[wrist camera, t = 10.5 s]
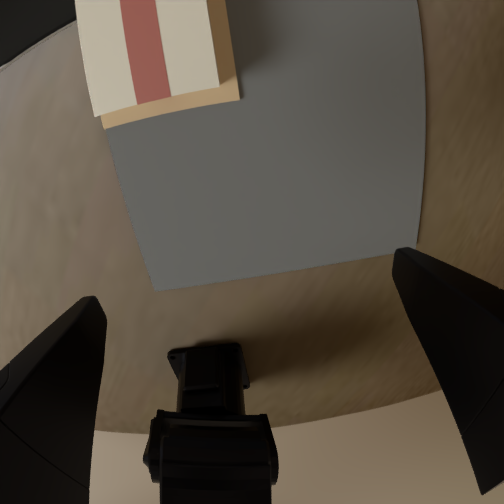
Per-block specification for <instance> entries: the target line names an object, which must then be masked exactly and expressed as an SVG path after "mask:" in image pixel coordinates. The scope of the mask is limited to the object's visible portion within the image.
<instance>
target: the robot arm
mask: <svg viewBox="0 0 504 504" xmlns="http://www.w3.org/2000/svg"><path fill="white" fill-rule="evenodd" d="M392 277H393V280H394V283H395V285H396V288H397V290H398V293H399V295H400V298H401V300H402V303H403V305H404V308H405V311H406V313H407V316H408V318H409V320H410V322H411V324H412V326H413V328H414V330H415V332H416V334H417V336H418V338H419V340H420V342H421V345H422V347H423V349H424V351H425V353H426V355H427V357H428V359H429V361H430V363H431V366H432V368H433V370H434V372H435V374H436V377H437V379H438V381H439V383H440V386H441V388H442V390H443V392H444V394H445V397H446V399H447V402H448V404H449V406H450V409H451V411H452V414H453V416H454V419H455V421H456V424H457V426H458V429H459V431H460V434H461V435H462V436H461V437H462V440H463V443H464V446H465V448H466V451H467V454H468V456H469V459H470V462H471V465H472V468H473V471H474V474H475V477H476V480H477V483H478V486H479V490H480V493H481V495H484V494H486V493H487V492H489V491H491V490H492V489H494V488H496V487H497V486H499V485H500V484H502V483H503V482H504V290H503V289H499V288H498V287H496V286H494V285H492V284H490V283H488V282H486V281H484V280H482V279H480V278H477V277H475V276H473V275H471V274H469V273H467V272H465V271H462V270H460V269H458V268H456V267H454V266H451V265H449V264H447V263H445V262H443V261H440V260H438V259H436V258H434V257H431V256H429V255H427V254H424V253H422V252H420V251H417V250H415V249H413V248H410V247H402V248H397V249H396V250H395V253H394V260H393V268H392ZM106 330H107V318H106V315H105V313H104V311H103V309H102V307H101V305H100V303H99V301H98V299H97V298H96V297H95V296H86V297H82V298H81V299H80V300H79V301H77V302H76V303H75V304H74V305H73V306H72V307H70V308H69V309H68V310H67V311H66V312H65V313H63V314H62V315H61V316H60V317H59V318H58V319H56V320H55V321H54V322H53V323H52V324H51V325H50V326H48V327H47V328H46V329H45V330H44V331H43V332H42V333H41V334H39V335H38V336H37V337H36V338H35V339H34V340H33V341H32V342H31V343H29V344H28V345H27V346H26V347H25V348H24V349H23V350H22V351H21V352H20V353H19V354H18V355H16V356H15V357H14V358H13V359H12V360H11V361H10V363H8V364H7V365H6V366H5V367H4V368H3V369H2V370H0V504H89V486H90V470H91V457H92V445H93V436H94V428H95V419H96V411H97V404H98V397H99V390H100V384H101V378H102V372H103V365H104V354H105V341H106ZM167 358H168V360H169V362H170V364H171V367H172V369H173V371H174V373H175V375H176V377H177V379H178V395H177V410H176V412H169V411H164V410H159V409H158V410H157V415H156V417H154V419H152V420H151V425H150V434H149V439H148V442H147V445H146V448H145V452H144V455H143V463H144V464H145V465H146V466H147V467H148V468H149V472H150V474H151V479H152V482H153V483H160V504H271V485H275V484H276V482H277V479H278V469H279V464H278V453H277V448H276V445H275V441H274V438H273V434H272V431H271V427H270V424H269V420H268V417H267V414H260V415H245V404H244V393H243V389H248V388H249V387H250V382H249V378H248V374H247V370H246V366H245V362H244V358H243V353H242V349H241V346H240V344H237V343H232V344H225V345H217V346H209V347H201V348H192V349H183V350H174V351H169V352H168V355H167Z"/></svg>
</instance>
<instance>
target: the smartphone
mask: <svg viewBox="0 0 504 504" xmlns="http://www.w3.org/2000/svg"><path fill="white" fill-rule="evenodd" d="M75 23H77V15H76V7H75V0H0V72H1V71H3V70H4V69H5V68H7V67H8V66H9V65H11V64H12V63H13V62H15V61H16V60H17V59H19V58H20V57H22V56H23V55H25V54H26V53H28V52H29V51H31V50H32V49H34V48H35V47H37V46H38V45H40V44H41V43H43V42H44V41H46V40H48V39H49V38H51V37H52V36H54V35H56V34H58V33H59V32H61V31H63V30H64V29H66V28H68V27H70V26H71V25H73V24H75Z"/></svg>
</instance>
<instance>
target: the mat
mask: <svg viewBox="0 0 504 504" xmlns="http://www.w3.org/2000/svg"><path fill="white" fill-rule="evenodd" d="M207 4H208V10H209V17H210V23H211V29H212V36H213V42H214V48H215V55H216V61H217V67H218V73H219V80H220V87H217V88H211V89H205V90H200V91H195V92H189V93H184V94H180V95H175V96H172V97H168V98H164V99H159V100H155V101H151V102H147V103H143V104H139V105H134V106H130V107H126V108H123V109H119V110H116V111H113V112H109V113H106V114H103V115H101V119H102V124H103V128H104V129H106V133H107V137H108V141H109V145H110V149H111V153H112V157H113V161H114V165H115V168H116V172H117V176H118V179H119V183H120V186H121V190H122V193H123V197H124V200H125V203H126V207H127V210H128V213H129V217H130V220H131V223H132V226H133V229H134V232H135V235H136V238H137V241H138V244H139V247H140V250H141V253H142V256H143V259H144V262H145V265H146V268H147V271H148V273H149V276H150V279H151V282H152V284H153V287H154V290H155V291H162V290H170V289H177V288H184V287H190V286H197V285H204V284H211V283H217V282H224V281H231V280H237V279H244V278H250V277H256V276H263V275H269V274H275V273H282V272H288V271H294V270H300V269H306V268H312V267H318V266H324V265H330V264H335V263H341V262H347V261H353V260H358V259H364V258H370V257H375V256H381V255H386V254H392V253H395V250H396V249H397V248H402V247H410V248H413V249H416V243H417V236H418V228H419V220H420V211H421V201H422V191H423V178H424V162H425V135H426V98H425V72H424V57H423V45H422V35H421V26H420V18H419V11H418V4H417V0H207Z"/></svg>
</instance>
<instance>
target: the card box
mask: <svg viewBox="0 0 504 504" xmlns="http://www.w3.org/2000/svg"><path fill="white" fill-rule="evenodd" d="M75 7H76V15H77V23H78V30H79V37H80V44H81V50H82V56H83V62H84V68H85V73H86V78H87V84H88V89H89V93H90V98H91V103H92V107H93V112H94V116H95V117H96V116H99V115H103V114H106V113H109V112H113V111H116V110H119V109H123V108H126V107H130V106H134V105H139V104H143V103H147V102H151V101H155V100H159V99H164V98H168V97H172V96H175V95H180V94H184V93H189V92H195V91H200V90H205V89H211V88H217V87H220V80H219V73H218V67H217V61H216V55H215V48H214V42H213V36H212V29H211V23H210V17H209V10H208V4H207V0H75Z"/></svg>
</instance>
